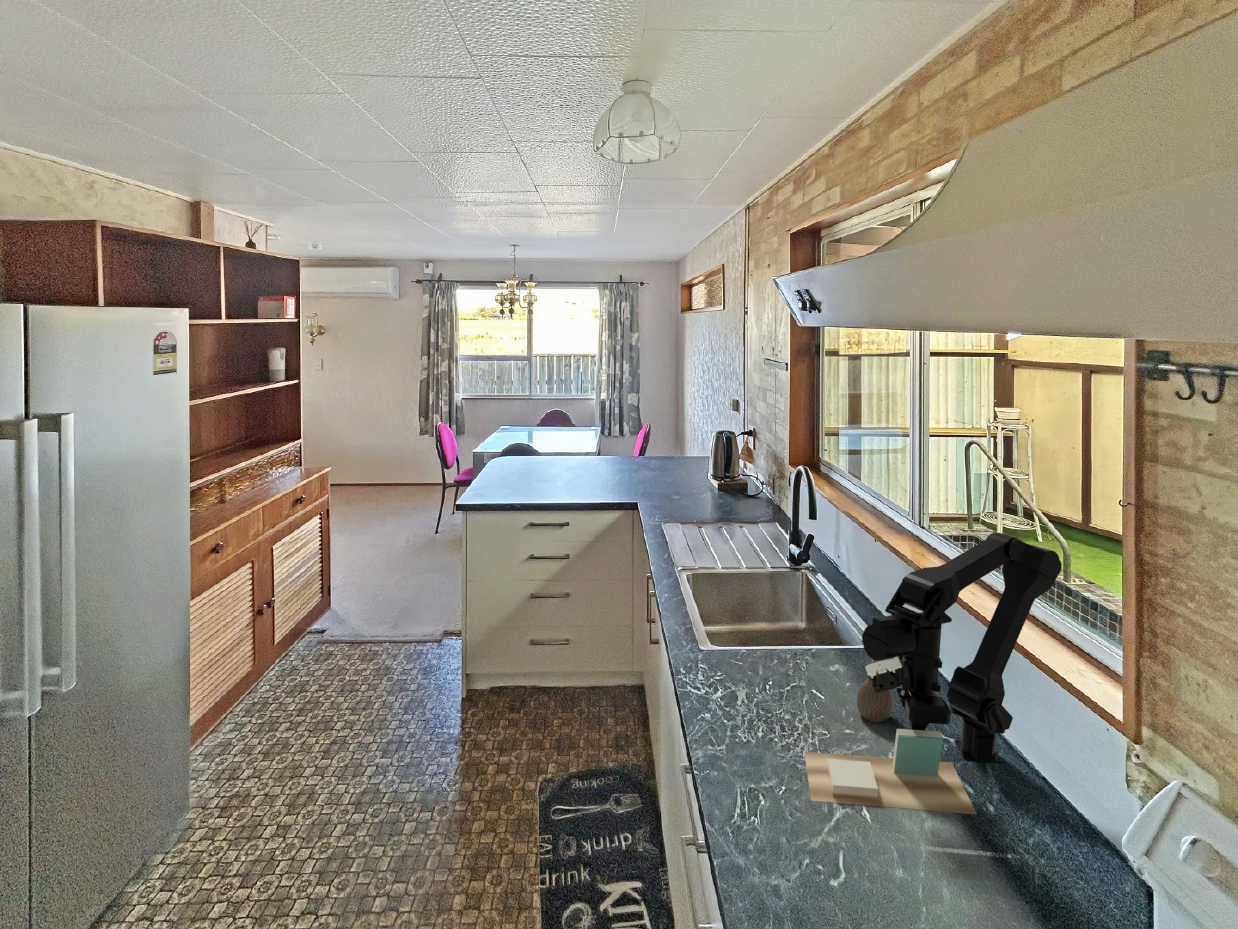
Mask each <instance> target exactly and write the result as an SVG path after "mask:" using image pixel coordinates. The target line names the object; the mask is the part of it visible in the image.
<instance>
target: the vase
mask: <svg viewBox="0 0 1238 929" xmlns="http://www.w3.org/2000/svg"><path fill="white" fill-rule="evenodd" d="M894 699H895V698H894V694H893V690H888V691H884V692H881V693H874V692H873V689H872V686H871V684H870V681H869V678H867V679H866V680H865V681H863V683H861V685H860V686H859V688H858V690H857V693H856V700H855V701H856V707H857V709H858V710H857V711H858V712H859V715H861V717H862V718H863V719H865V720H866V721H869V722H873V723H882V722H885V721H887V720H888V719H889V718H890V717H891V715H892V714H893V710H894V706H895V705H894V704H895V700H894Z"/></svg>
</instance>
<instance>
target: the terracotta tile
mask: <svg viewBox="0 0 1238 929" xmlns="http://www.w3.org/2000/svg"><path fill="white" fill-rule="evenodd" d="M827 770H828V775H829V780H830V785H831V790H832V795H835V796H847V797H860V798H872V799H878V787H877V783H876V780H875V777H874V773H873V770H872V766H871V763H870V762H864V761H850V760H837V759H828V763H827Z"/></svg>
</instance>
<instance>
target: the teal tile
mask: <svg viewBox="0 0 1238 929" xmlns="http://www.w3.org/2000/svg"><path fill="white" fill-rule="evenodd" d="M943 743H944V738H943V734H942V731H938V730H935V731H934V730H924V731H923V730H911V729H906V728H896V733H895V741H894V748H893V749H894V750H893V755H892V756H893V757H892V758H893V763H892V766H893V771H894V773H897V774H911V775H924V776H938V770H939V763H940V762H941V755H942V749H943Z"/></svg>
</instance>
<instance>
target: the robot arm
mask: <svg viewBox="0 0 1238 929" xmlns="http://www.w3.org/2000/svg"><path fill="white" fill-rule="evenodd" d="M1000 567H1002V570H1001V571H1002V577H1003V582H1004V583H1003V584H1004V588H1003V591H1002V594H1001V595H1000V598H999V601H998V603H997V605H996V607H995V609H994V612H993V614H992V617H991V620H990V621H989V624H988V626H987V627H986V630H985V633H984V634H983V638H982V640H981V641H980V645H979V647H978V649H977V651H976V653H975V655H974V659H973V660H972V661H971V663H969V664H967V665H965V667H962V666H960V665H959V666H957V667H956V668H955V669H954V671H953V674H952V678H951V679H950V681H949V682H948V684H947V685H946V686H947V688H948V689H947V692H946V697H947V698H948V703H947V702H946V701H945V700H944V698H943V697H941V696H938V694H937V692H939V693H941V689H942V688H941V687H942V686H941V684H940V682H939V669H942V668H943V661H942V659H941V658H940V655H941V654H940V652H941V640H942V638H941V637H942V625H943V624H948V623H951V622H952V621H953V619H952V617H950V616H949V615H948V614H947V613H946V611H948V610H949V609H950V608H951V607H952V606H953V605H955V604H956V602H958V597H959V596H960V592H962V591H963V590H964V589H966V588H967V587H969V586H970V585H972V584H974V583H975V582H977V581H978V580H980V579H982V578H984V577H985V576H987V575H988V574H990V573H991V572H992V573H993V572H994V571H995V570H997V569H998V568H1000ZM1061 571H1062V561H1061V560H1060V557H1059V554H1058V553H1057V551H1055V550H1052V549H1047V548H1044V547H1041V546H1037V545H1033V544H1030V543H1026V542H1025V541H1023V540H1020V539H1019V538H1018V537H1015V536H1012V535H1009V534H1005V533H1001V532H992V533H990V534H988V536H987V537H986V538H985V539H984V540H983V541H981V542H978V544H976V545H974V546H973V547H971V548H969V549H968V550H966V551H963V552H962V553H961V554H959V555H957V556H955V557H953V558H952V559H951V560H948V561H947V562H945V563H943V564H941V565H938V566H929V567H922V568H920V569H917V570H914V571H911V572H909V573H907V574H906V575H905V576H904V577H903V578H902V580H901V582H900V584H899V586H898V587H897V589H896V591H895V593H894V594H893V596H892V597H891V599H890V601H889V603H887V606H886V608H885V610H884V611H885V612H886V614H889V615H885V616H874V617H873V618H872V620H871V621H872V622H871V623H872V624H870V625H869V624H868V625H867V626H866V627H865V629H864V630H863V633H861V635H862V636H861V642H862V646H863V650H864V651H865V652H866V654H867V656H868V657H869V658H870V659H872V660H873V661H876V662H873V663H869V664H867V665H866V666H865V672H866V674H867V677H868V678H869V681H870V684H871V686H872V689H873V692H874V693H881V692H884V691H888V690H891V691H893V690H896V694H897V695H898V698H900V703H901V706H902V707H903V709H904V710H905V714H906V717H907V718H908V721H909V722H908V723H909V727H910V730H923V731H926V729H927V728H928V726H929V724H935V725H936V724H937V725H949V724H951V719H952V714H954V715H956V716H958V717H960V718H961V719H962V721H961V722H962V723H961V734H960V739H955V740H954V742H953V743H954V745H955V746H956V748H957V750H958V752H959V754H960V756H961V758H962V759H963V761H964V760H965V761H973V762H986V763H997V764H999V763H1000V764H1001V763H1002V762H1003V759H1002V757H1001V756H1000V754H999V752H998V751H997V742H998V741H997V738H998V734H1000V735H1001V734H1005V731H1006V730H1010V727H1011V725H1012V722H1013V719H1014V717H1013V715H1011V713H1010V712H1009V711H1008V710H1007V709H1006V708H1005V707H1004V706H1003V703H1004V700H1005V695H1006V692H1005V686H1004V685H1005V684H1004V681H1003V680H1004V679H1003V674H1004V672H1005V669H1006V666H1007V664H1008V662H1009V660H1010V657H1011V656H1012V653H1013V650H1014V649H1015V646H1016V643H1017V641H1018V639H1019V637H1020V634H1021V632H1022V630H1023V627H1024V626H1025V622H1026V621H1027V618H1028V616H1029V615H1030V614H1029V613H1030V611H1031V609H1032V606H1033V604H1034V601H1035V600H1036V599H1038V598H1039V597H1041V596H1042V595H1044V594H1045V593H1047V592H1048V591H1050V590H1051V589H1052V587H1053V585H1054V583H1055V581H1056V580H1057V578H1058V576H1059V575H1060V574H1061ZM905 605H907V606H909V607H912V608H914V609H916V610H919V611H920V612H917V611H915V610H914V609H913V610H912V609H910V608H908V607H905ZM868 678H867V679H868ZM900 686H901V687H900ZM948 704H949V706H950V708H949V706H948Z"/></svg>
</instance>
